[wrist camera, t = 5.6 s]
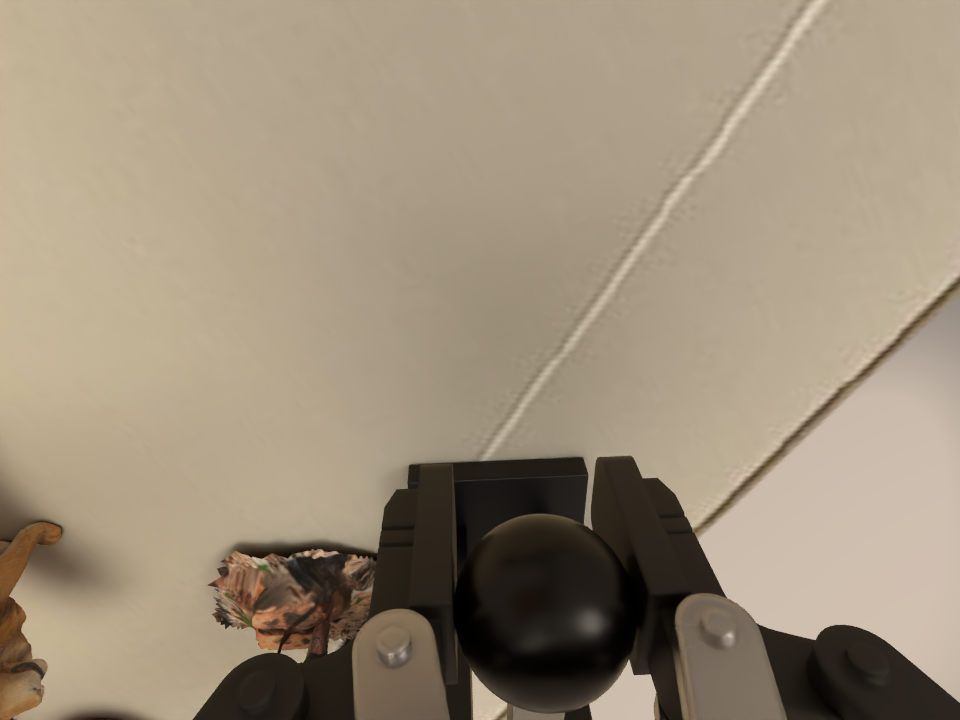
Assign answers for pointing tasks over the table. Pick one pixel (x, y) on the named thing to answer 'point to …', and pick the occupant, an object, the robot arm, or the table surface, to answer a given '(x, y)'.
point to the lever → (544, 615)
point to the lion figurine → (19, 625)
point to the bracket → (494, 500)
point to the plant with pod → (296, 598)
